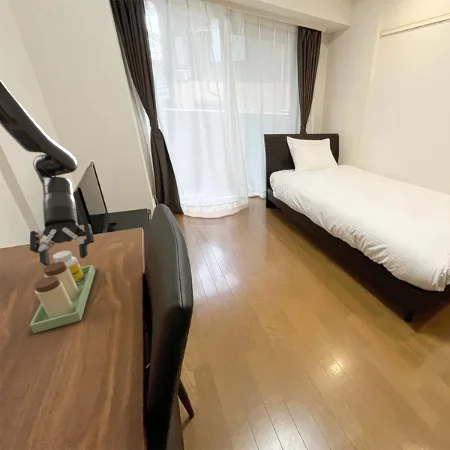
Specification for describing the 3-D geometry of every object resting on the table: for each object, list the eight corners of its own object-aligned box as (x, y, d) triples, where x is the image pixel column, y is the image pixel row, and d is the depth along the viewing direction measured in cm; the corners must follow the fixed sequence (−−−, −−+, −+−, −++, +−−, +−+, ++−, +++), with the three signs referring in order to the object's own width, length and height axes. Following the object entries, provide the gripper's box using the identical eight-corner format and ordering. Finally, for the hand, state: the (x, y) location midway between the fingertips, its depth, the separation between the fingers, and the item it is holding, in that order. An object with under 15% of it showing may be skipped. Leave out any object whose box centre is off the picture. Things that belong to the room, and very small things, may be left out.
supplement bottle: (62, 290, 77) (48, 261, 73) (62, 280, 81) (49, 253, 77) (85, 282, 80) (73, 254, 76) (84, 274, 84) (72, 247, 80)
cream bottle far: (44, 321, 67) (26, 289, 63) (58, 306, 71) (42, 276, 67) (66, 319, 68) (50, 287, 63) (78, 305, 72) (64, 274, 68)
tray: (59, 279, 83) (56, 272, 82) (95, 271, 86) (92, 264, 85) (33, 333, 64) (29, 325, 63) (81, 320, 68) (77, 312, 67)
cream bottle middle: (52, 303, 73) (36, 272, 68) (64, 291, 77) (50, 261, 73) (72, 301, 73) (58, 271, 69) (83, 289, 78) (70, 260, 73)
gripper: (22, 209, 76) (25, 264, 72) (84, 201, 82) (90, 251, 78) (36, 219, 83) (40, 270, 78) (92, 211, 88) (98, 258, 84)
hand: (65, 261), depth 78 cm, fingers open, 8 cm apart
